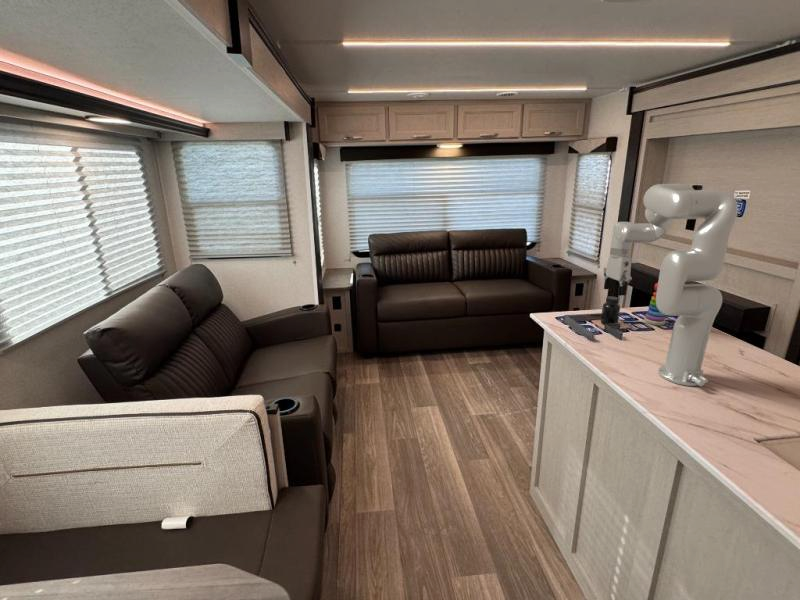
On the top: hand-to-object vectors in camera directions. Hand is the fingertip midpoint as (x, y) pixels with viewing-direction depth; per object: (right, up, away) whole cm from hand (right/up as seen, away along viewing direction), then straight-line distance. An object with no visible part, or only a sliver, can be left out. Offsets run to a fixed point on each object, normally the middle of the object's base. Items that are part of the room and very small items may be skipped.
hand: (614, 292), depth 172 cm
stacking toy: (+21, -14, +7) cm, 26 cm away
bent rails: (-7, -16, 0) cm, 18 cm away
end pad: (+1, -14, +5) cm, 15 cm away
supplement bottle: (0, -14, +5) cm, 15 cm away
